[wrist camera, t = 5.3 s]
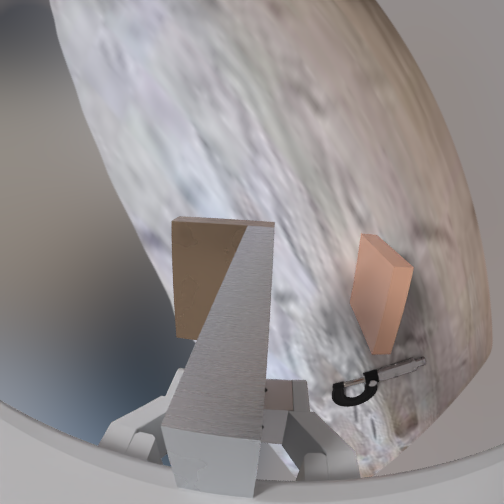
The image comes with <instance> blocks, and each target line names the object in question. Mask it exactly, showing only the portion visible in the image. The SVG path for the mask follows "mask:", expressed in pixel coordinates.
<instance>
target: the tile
mask: <svg viewBox="0 0 504 504" xmlns="http://www.w3.org/2000/svg"><path fill="white" fill-rule="evenodd" d="M413 269H414V267H412V266H411V265H410V264H409V263H408V262H407V261H406V260H405V259H404V258H403V257H401V256H400V255H399V254H398V253H397V252H396V251H395V250H394V249H392V248H391V247H390V246H389V245H388V244H387V243H386V242H384V241H383V240H382V239H381V238H380V237H379V236H377V235H372V234H361V238H360V245H359V252H358V259H357V265H356V271H355V277H354V283H353V289H352V294H351V299H350V305H351V307H352V309H353V311H354V314H355V316H356V318H357V320H358V323H359V325H360V327H361V330H362V332H363V334H364V337H365V339H366V341H367V344H368V346H369V349H370V351H371V353H372V355H375V354H391V351H392V348H393V345H394V342H395V338H396V335H397V332H398V328H399V325H400V321H401V318H402V314H403V311H404V307H405V303H406V299H407V295H408V291H409V287H410V283H411V278H412V274H413Z"/></svg>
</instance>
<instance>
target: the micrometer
mask: <svg viewBox="0 0 504 504" xmlns="http://www.w3.org/2000/svg"><path fill="white" fill-rule="evenodd" d="M425 364H426V360H425V358H424V357H421V358H419V359H417V360H415V359H414V358H410V359H408V360H405V361H402V362H399V363H395V364H391V365H389V366H386V367H383V368H380V369H379V370H372V371H369V372H365V373H363V377H362V378H358V379H354V380H350V381H346V382H340V383H335V384H333V391H332V399H333V401H334V402H335V403H336V404H337V405H340V406H346V407H348V406H355V405H359V404H362V403H364V402H366V401H367V400H369V399H370V398H371V397H372V396H373V395H374V394H375V393H376V390H377V382H379V381H384V380H388V379H391V378H395V377H398V376H400V375H403V374H406V373H409V372H413V371H416V369H417V367H419V366H421V365H422V366H423V365H425ZM363 382H365V390H364V392H363V393H362V394H361V395H359V396H357V397H353V398H350V397H346V396H345V395H344V389H343V388H344V387H348V386H352V385H356V384H359V383H363Z"/></svg>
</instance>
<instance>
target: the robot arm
mask: <svg viewBox="0 0 504 504" xmlns="http://www.w3.org/2000/svg"><path fill="white" fill-rule="evenodd" d="M183 372H184V369H183V368H179V369H178V370H177V372H176V374H175V376H174V379H173V381H172V383H171V385H170V388H169V390H168V392H167V394H166V396H165V397H164V396H161V397H159V398H157V399H155V400H153V401H151V402H150V403H148V404H146V405H144V406H142V407H140V408H139V409H137V410H135V411H133V412H131V413H129V414H127V415H125V416H123V417H121V418H119V419H117V420H115V421H113V422H112V423H111V424H110V426H109V428H108V429H107V431H106V433H105V435H104V436H103V438H102V440H101V442H100V443H99V445H98V446H97V445H94V444H91V443H88V442H86V441H83V440H81V439H78V438H76V437H73V436H71V435H68V434H66V433H64V432H61V431H59V430H57V429H55V428H53V427H50V426H48V425H46V424H44V423H42V422H40V421H38V420H36V419H33V418H32V417H30V416H28V415H26V414H24V413H22V412H20V411H19V410H16V409H15V408H13V407H11V406H10V405H8V404H6V403H4V402H3V401H1V400H0V504H504V444H502V445H499V446H496V447H494V448H491V449H488V450H486V451H483V452H480V453H477V454H474V455H470V456H467V457H464V458H461V459H457V460H454V461H450V462H446V463H443V464H439V465H435V466H430V467H426V468H422V469H417V470H412V471H406V472H401V473H395V474H389V475H382V476H374V477H365V478H360V473H359V467H358V462H357V457H356V452H355V450H354V449H353V448H352V447H351V446H350V445H348V444H347V443H346V442H345V441H344V440H343V439H342V438H341V437H340V436H339V435H338V434H337V433H336V432H334V431H333V430H332V429H331V428H330V427H329V426H328V425H327V424H326V423H325V422H324V421H323V420H322V419H321V418H320V417H319V416H318V415H317V414H316V413H315V412H310V406H309V396H308V387H307V381H306V380H280V379H266V383H265V397H264V410H263V423H262V435H261V443H262V442H263V443H273V444H282V446H283V448H284V449H285V450H286V452H287V453H288V455H289V456H290V458H291V459H292V460H293V462H294V463H295V465H296V466H297V467H298V469H299V473H298V476H297V478H296V481H276V480H258V479H256V481H255V488H254V494H253V498H245V497H235V496H227V495H219V494H212V493H206V492H200V491H194V490H189V489H184V488H179V487H177V484H176V481H175V478H174V474H173V471H172V467H169V466H164V465H163V463H162V460H161V458H162V457H164V456H165V455H166V454H167V449H166V445H165V441H164V437H163V433H162V429H161V424H162V421H163V419H164V417H165V414H166V412H167V410H168V407H169V405H170V402H171V400H172V398H173V395H174V393H175V391H176V388H177V386H178V384H179V381H180V379H181V377H182V374H183Z"/></svg>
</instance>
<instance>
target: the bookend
mask: <svg viewBox="0 0 504 504" xmlns="http://www.w3.org/2000/svg"><path fill="white" fill-rule="evenodd" d="M274 225H275V222H265V221H250V220H235V219H218V218H200V217H181V216H179V217H177V218H176V219H174V220H173V221H172V266H173V289H174V307H175V321H176V334H177V337H178V338H185V339H192V340H197V342H196V344H195V346H194V349H193V351H192V353H191V356H190V358H189V360H188V362H187V365H186V367H185V369H184V372H183V374H182V377H181V379H180V381H179V384H178V386H177V388H176V391H175V393H174V395H173V398H172V400H171V402H170V405H169V407H168V410H167V412H166V414H165V417H164V419H163V421H162V424H161V429H162V433H163V437H164V441H165V445H166V449H167V453H168V456H169V460H170V464H171V467H172V471H173V474H174V478H175V481H176V484H177V487H179V488H184V489H189V490H194V491H200V492H206V493H212V494H219V495H227V496H235V497H245V498H253V494H254V488H255V481H256V474H257V467H258V459H259V452H260V445H261V435H262V423H263V410H264V397H265V383H266V368H267V354H268V338H269V322H270V305H271V287H272V268H273V247H274Z"/></svg>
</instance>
